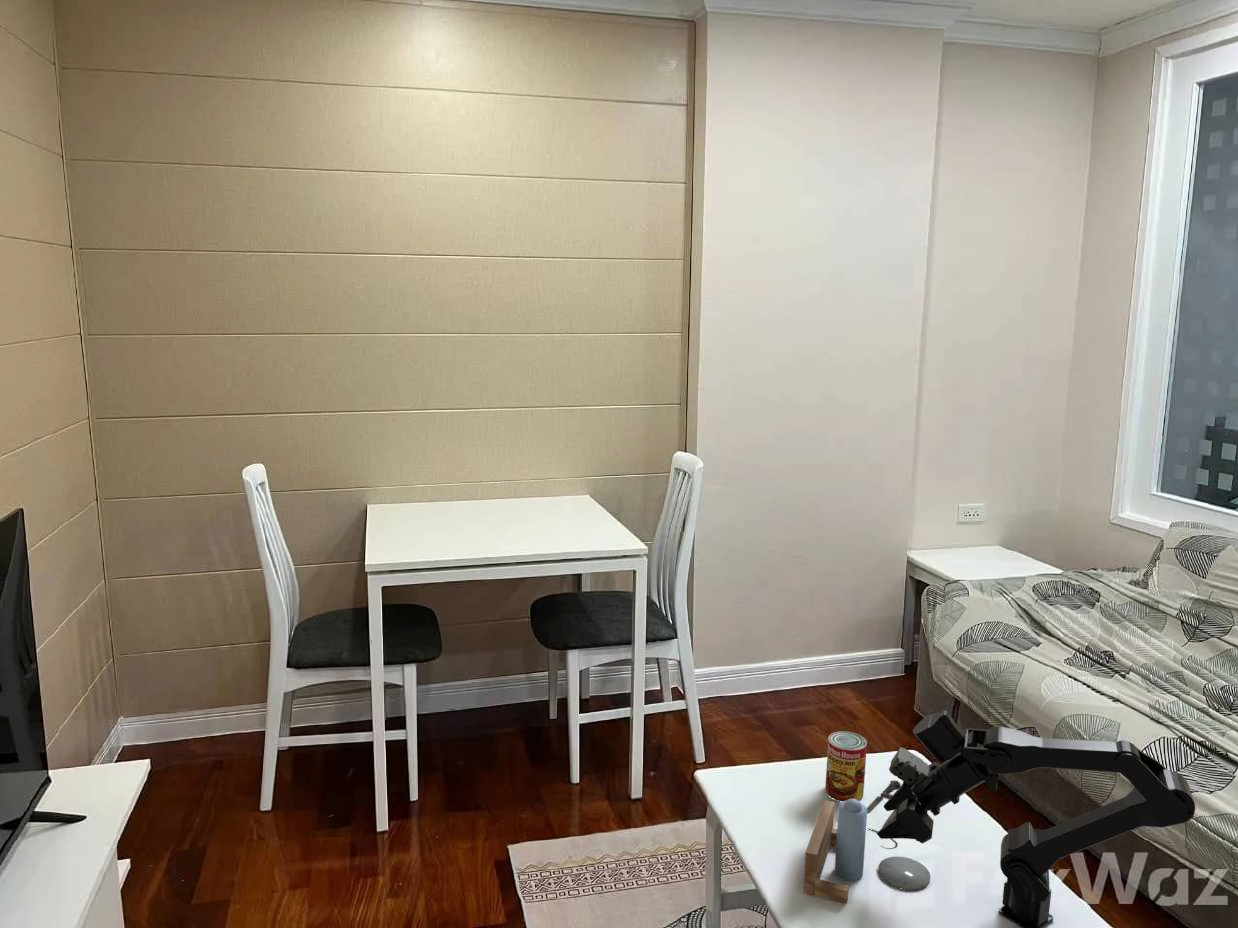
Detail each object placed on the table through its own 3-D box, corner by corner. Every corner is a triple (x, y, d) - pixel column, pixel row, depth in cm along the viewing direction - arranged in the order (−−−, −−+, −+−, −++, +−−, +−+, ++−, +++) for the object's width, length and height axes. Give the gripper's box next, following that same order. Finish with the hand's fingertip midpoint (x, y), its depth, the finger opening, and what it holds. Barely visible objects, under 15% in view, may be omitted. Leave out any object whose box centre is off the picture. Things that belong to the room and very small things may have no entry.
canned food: (819, 794, 195) (822, 742, 193) (833, 778, 201) (836, 727, 199) (855, 807, 190) (859, 753, 188) (868, 790, 197) (872, 737, 195)
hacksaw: (892, 783, 201) (892, 776, 200) (939, 800, 194) (940, 793, 194) (842, 833, 182) (842, 826, 182) (892, 853, 176) (893, 846, 176)
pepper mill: (868, 874, 169) (873, 801, 166) (849, 884, 166) (854, 810, 163) (847, 860, 173) (852, 789, 170) (828, 870, 170) (833, 797, 167)
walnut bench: (861, 846, 177) (863, 808, 176) (846, 903, 161) (849, 862, 159) (821, 837, 180) (823, 799, 178) (803, 892, 164) (805, 852, 162)
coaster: (940, 878, 168) (940, 875, 168) (908, 896, 163) (908, 893, 163) (900, 853, 175) (900, 850, 175) (868, 870, 170) (868, 867, 170)
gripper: (925, 717, 168) (859, 761, 175) (916, 766, 151) (843, 812, 158) (967, 766, 167) (899, 808, 173) (963, 821, 150) (887, 865, 156)
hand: (882, 821), depth 165 cm, fingers open, 9 cm apart
